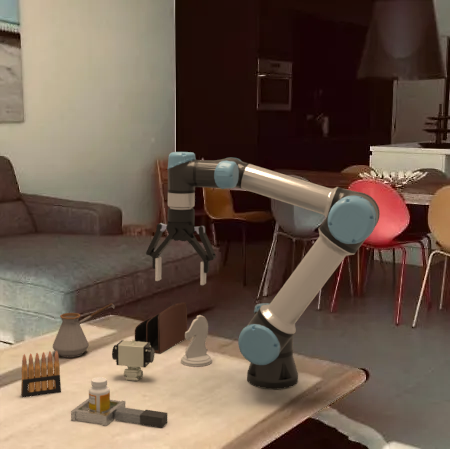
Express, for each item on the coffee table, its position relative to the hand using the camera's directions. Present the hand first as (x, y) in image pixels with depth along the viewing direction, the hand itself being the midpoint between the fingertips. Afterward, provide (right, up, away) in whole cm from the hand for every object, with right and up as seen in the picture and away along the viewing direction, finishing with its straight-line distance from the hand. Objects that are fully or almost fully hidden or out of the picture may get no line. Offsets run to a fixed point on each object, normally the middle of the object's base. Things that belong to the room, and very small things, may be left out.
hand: (180, 282), depth 213 cm
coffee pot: (-34, -26, +35) cm, 55 cm away
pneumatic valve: (-14, -30, +10) cm, 34 cm away
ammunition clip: (-39, -31, -3) cm, 50 cm away
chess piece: (+3, -28, +26) cm, 38 cm away
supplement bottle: (-20, -34, -17) cm, 43 cm away
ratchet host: (-14, -34, -19) cm, 41 cm away
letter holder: (-9, -25, +44) cm, 51 cm away
